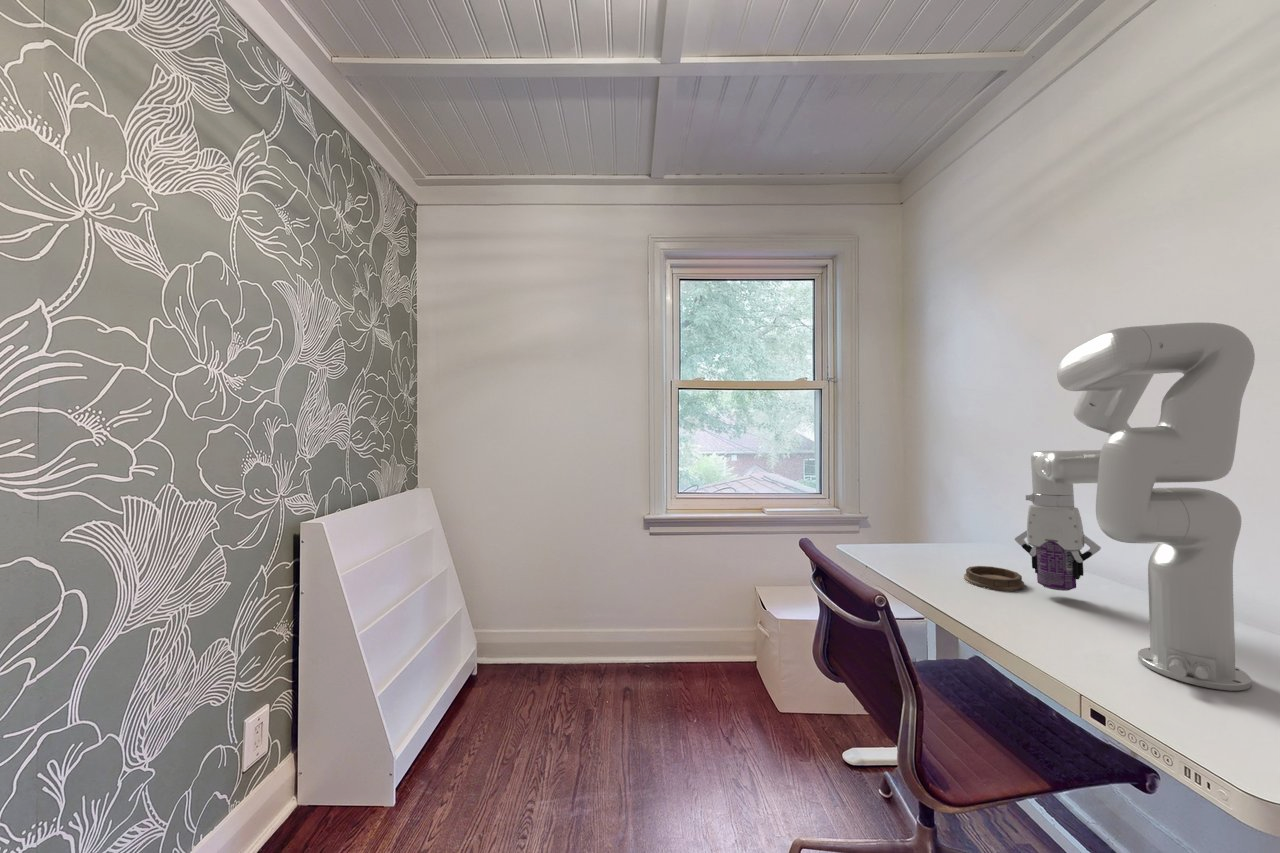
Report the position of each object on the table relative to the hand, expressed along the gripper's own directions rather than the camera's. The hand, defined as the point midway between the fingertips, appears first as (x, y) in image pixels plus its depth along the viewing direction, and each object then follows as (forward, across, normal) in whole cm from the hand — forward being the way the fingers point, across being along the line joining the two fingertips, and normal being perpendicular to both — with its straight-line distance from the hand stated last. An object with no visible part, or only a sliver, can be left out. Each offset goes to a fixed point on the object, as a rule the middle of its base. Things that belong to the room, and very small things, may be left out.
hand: (1057, 574), depth 114 cm
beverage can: (+3, 0, 0) cm, 3 cm away
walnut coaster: (+5, -14, +3) cm, 15 cm away
